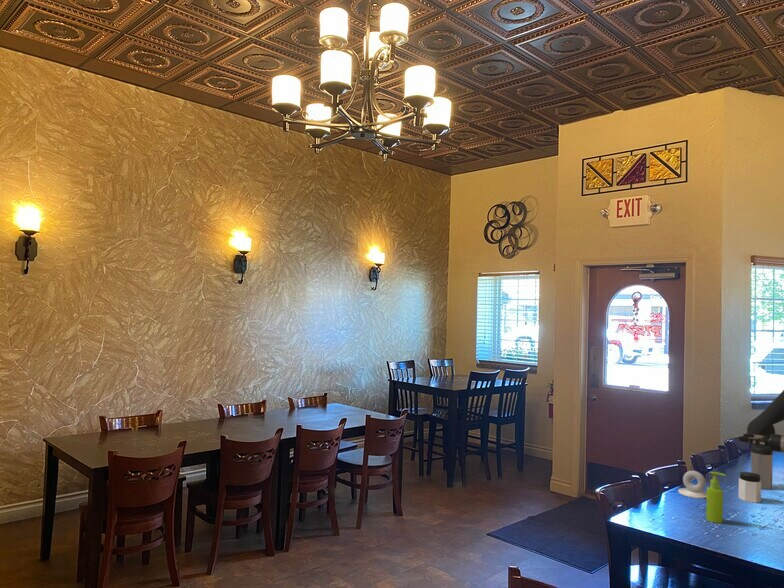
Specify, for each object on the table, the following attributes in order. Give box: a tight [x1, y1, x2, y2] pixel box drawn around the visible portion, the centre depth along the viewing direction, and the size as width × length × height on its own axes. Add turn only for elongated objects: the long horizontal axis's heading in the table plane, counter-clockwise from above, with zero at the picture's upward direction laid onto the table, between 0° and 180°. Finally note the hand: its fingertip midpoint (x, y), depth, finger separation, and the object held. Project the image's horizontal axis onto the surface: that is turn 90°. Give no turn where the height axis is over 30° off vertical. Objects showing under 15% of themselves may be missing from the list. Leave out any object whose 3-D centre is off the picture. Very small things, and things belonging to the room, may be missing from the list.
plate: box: [677, 487, 707, 500], centre depth 273 cm, size 13×13×1 cm
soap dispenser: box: [705, 471, 727, 524], centre depth 237 cm, size 6×7×20 cm
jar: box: [738, 471, 762, 504], centre depth 267 cm, size 9×8×12 cm
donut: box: [682, 470, 707, 492], centre depth 273 cm, size 10×4×10 cm, turn 46°
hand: (741, 437), depth 265 cm, fingers open, 8 cm apart
